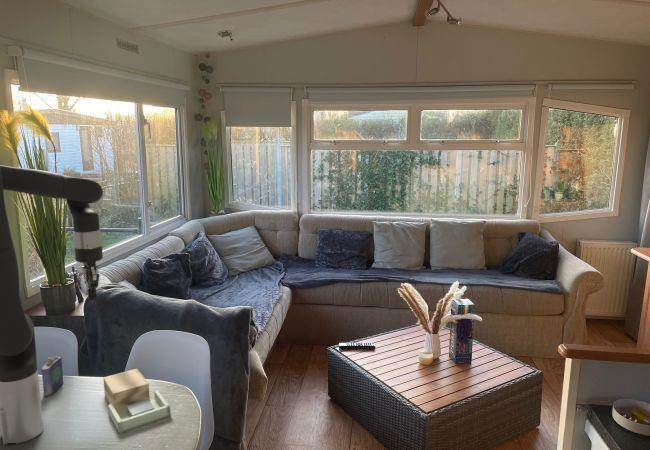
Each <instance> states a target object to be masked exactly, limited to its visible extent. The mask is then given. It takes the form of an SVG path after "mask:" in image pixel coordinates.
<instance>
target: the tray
mask: <svg viewBox="0 0 650 450" xmlns="http://www.w3.org/2000/svg"><path fill="white" fill-rule="evenodd" d="M153 393H154V398H153V399H151V400H149V402H150V403H151V404H152V405H153V407H154V410H151V411H148V412H145V413H141V414H138V415H135V416H132V417H130V416H129V415H128V413H127V409H126V408H124V409H121V410H117V411H116V410H115V408H114V407H113V405H112V404H108V415H109V417H110V419H111V421H112V423H113V425H114V427H115V428H116V431H117V432H118V434H121V433H125V432H128V431H130V430H132V429H136V428H139V427H141V426H145V425H147V424H150V423H151V424H152V423H153V422H156V421H159V420H162V419H164V418H165V419H166V418H169V417H171V406H170V404H169V403H168V401H167V400H166V399H165V397H164V396H163V395H162V394H161V393H160V391H159V390H158V389H156V390H154V392H153Z"/></svg>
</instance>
